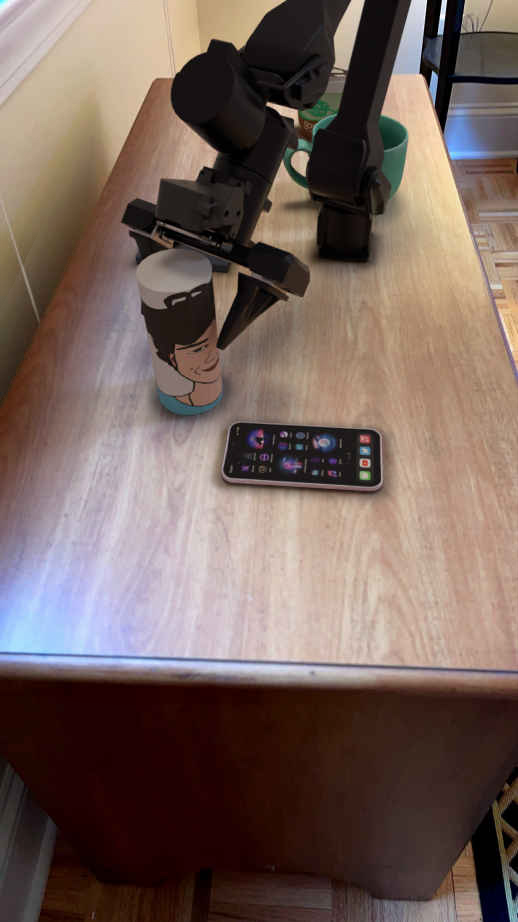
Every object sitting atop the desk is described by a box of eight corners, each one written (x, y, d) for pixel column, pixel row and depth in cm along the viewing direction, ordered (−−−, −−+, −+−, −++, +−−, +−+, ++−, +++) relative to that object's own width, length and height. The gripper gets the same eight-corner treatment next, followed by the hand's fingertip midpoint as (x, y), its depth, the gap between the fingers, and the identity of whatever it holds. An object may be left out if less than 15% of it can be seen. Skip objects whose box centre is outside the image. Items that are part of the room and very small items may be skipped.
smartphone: (383, 488, 63) (220, 478, 64) (382, 492, 63) (220, 482, 64) (381, 429, 68) (230, 420, 69) (380, 433, 68) (230, 424, 69)
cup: (188, 425, 69) (169, 302, 58) (145, 393, 73) (120, 271, 61) (235, 391, 73) (227, 268, 61) (193, 362, 76) (177, 240, 64)
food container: (281, 141, 110) (281, 74, 102) (291, 125, 114) (292, 58, 106) (357, 150, 107) (363, 81, 100) (365, 133, 111) (371, 65, 104)
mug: (392, 175, 102) (400, 109, 95) (406, 220, 94) (417, 151, 87) (280, 180, 102) (280, 113, 95) (285, 225, 94) (285, 156, 86)
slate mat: (243, 230, 93) (243, 223, 92) (227, 272, 87) (227, 265, 86) (158, 222, 95) (157, 216, 94) (136, 263, 88) (135, 257, 88)
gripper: (116, 110, 60) (55, 279, 63) (296, 163, 53) (220, 353, 55) (181, 162, 70) (127, 307, 73) (340, 213, 63) (274, 372, 66)
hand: (181, 332), depth 66 cm, fingers open, 9 cm apart
